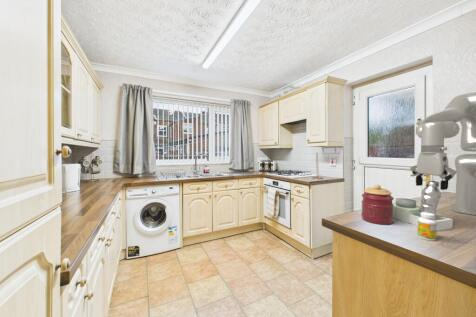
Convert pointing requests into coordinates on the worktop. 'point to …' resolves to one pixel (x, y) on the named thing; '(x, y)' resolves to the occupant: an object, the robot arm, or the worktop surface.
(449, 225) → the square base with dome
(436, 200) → the silver bottle
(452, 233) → the worktop surface
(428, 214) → the supplement bottle
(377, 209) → the canister
